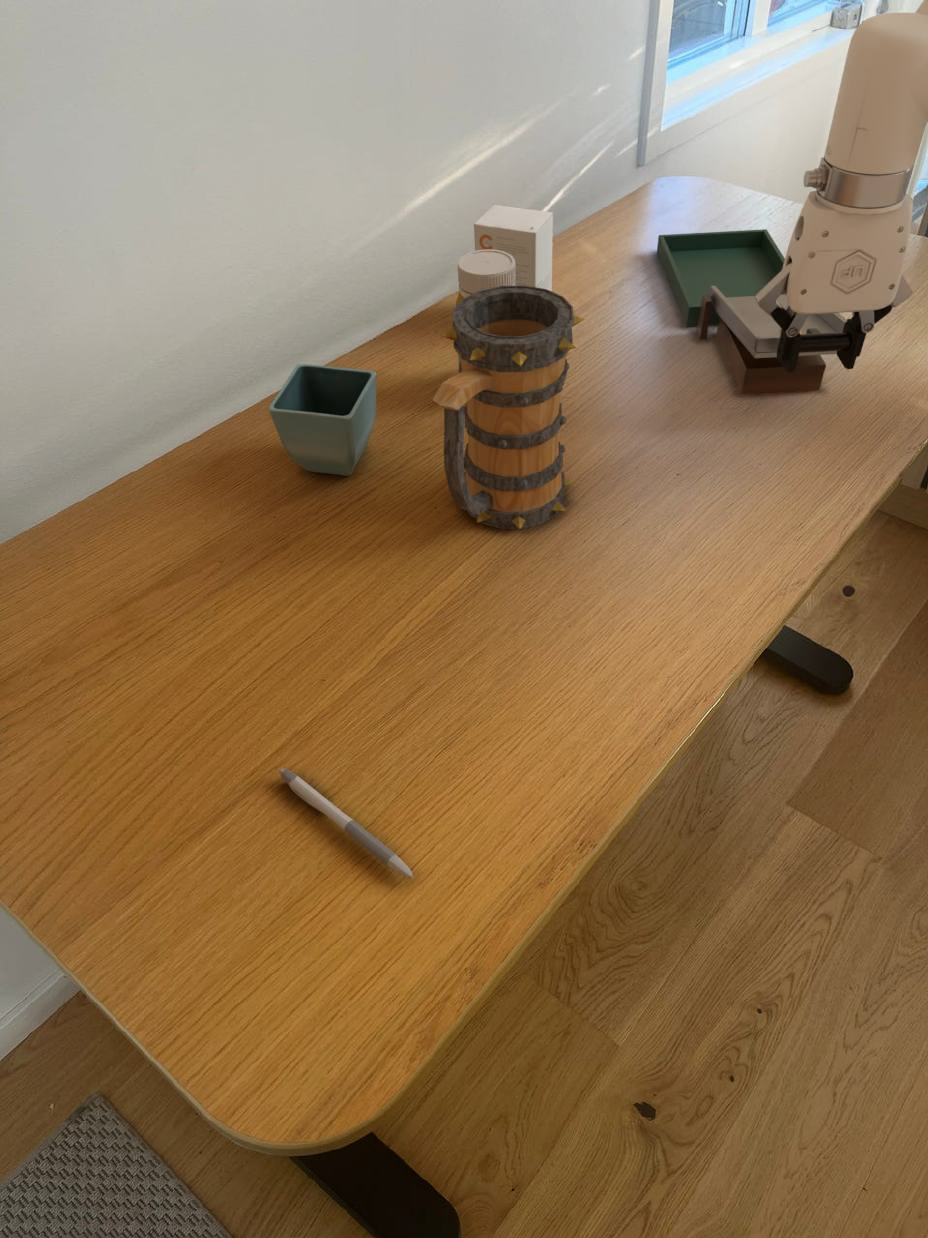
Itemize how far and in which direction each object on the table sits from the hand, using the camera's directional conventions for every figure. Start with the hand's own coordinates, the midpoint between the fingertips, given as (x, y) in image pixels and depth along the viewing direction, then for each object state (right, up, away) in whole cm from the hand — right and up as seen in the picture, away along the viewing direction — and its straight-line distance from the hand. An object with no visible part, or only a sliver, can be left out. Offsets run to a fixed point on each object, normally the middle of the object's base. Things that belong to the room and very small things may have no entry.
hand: (815, 362), depth 94 cm
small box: (-30, +13, +25) cm, 41 cm away
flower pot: (-50, -10, +5) cm, 51 cm away
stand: (0, +5, +16) cm, 16 cm away
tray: (-1, +19, +29) cm, 35 cm away
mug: (-32, -15, -2) cm, 36 cm away
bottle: (-33, +1, +14) cm, 36 cm away
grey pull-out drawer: (0, +6, +9) cm, 11 cm away
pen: (-45, -42, -27) cm, 67 cm away
